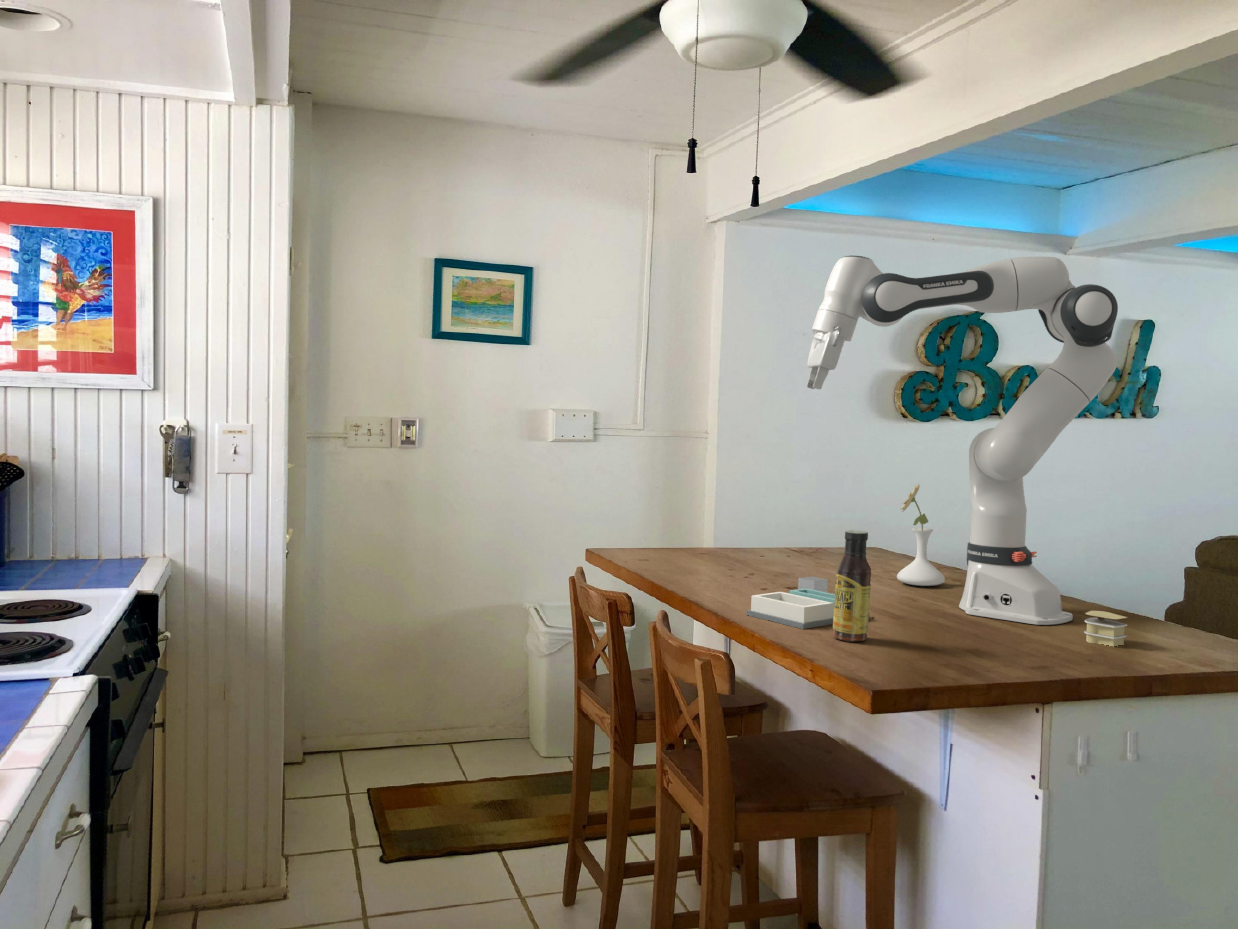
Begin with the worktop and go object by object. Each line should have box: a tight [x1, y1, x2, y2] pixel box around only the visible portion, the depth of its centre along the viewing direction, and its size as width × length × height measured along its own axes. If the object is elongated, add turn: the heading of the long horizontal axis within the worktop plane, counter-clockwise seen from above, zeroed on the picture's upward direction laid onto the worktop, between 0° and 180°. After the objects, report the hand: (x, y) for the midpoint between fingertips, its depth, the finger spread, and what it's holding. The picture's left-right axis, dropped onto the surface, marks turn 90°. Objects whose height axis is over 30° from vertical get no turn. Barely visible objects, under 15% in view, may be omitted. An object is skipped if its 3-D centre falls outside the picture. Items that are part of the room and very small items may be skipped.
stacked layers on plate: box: [1083, 610, 1128, 648], centre depth 179 cm, size 10×9×6 cm
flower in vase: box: [896, 483, 946, 587], centre depth 237 cm, size 13×11×25 cm
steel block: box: [797, 576, 829, 593], centre depth 214 cm, size 4×4×5 cm
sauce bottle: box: [832, 529, 872, 643], centre depth 176 cm, size 6×6×20 cm
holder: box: [746, 588, 871, 630], centre depth 196 cm, size 15×20×4 cm
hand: (813, 388), depth 213 cm, fingers open, 8 cm apart
